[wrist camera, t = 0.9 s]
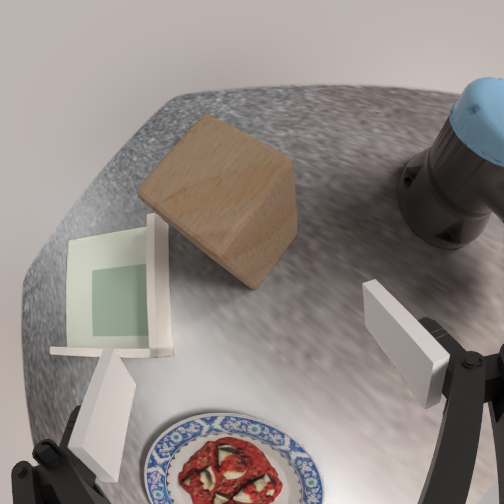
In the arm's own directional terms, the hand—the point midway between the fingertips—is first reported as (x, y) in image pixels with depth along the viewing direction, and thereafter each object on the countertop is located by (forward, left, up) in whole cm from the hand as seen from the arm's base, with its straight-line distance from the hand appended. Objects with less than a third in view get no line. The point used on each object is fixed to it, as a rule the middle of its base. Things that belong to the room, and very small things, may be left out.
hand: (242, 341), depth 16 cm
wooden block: (-3, -13, -27) cm, 30 cm away
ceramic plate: (+17, +17, -27) cm, 36 cm away
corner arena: (+19, -18, -27) cm, 38 cm away
